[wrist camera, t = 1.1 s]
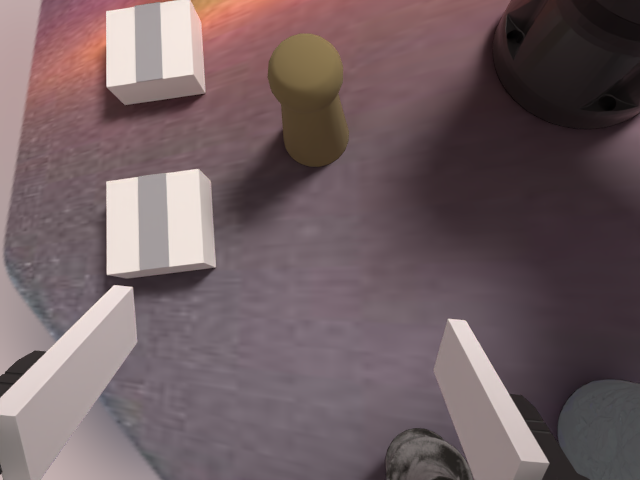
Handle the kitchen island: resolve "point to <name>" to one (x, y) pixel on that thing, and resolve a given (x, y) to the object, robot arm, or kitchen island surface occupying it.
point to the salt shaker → (424, 458)
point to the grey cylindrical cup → (603, 430)
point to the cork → (309, 98)
